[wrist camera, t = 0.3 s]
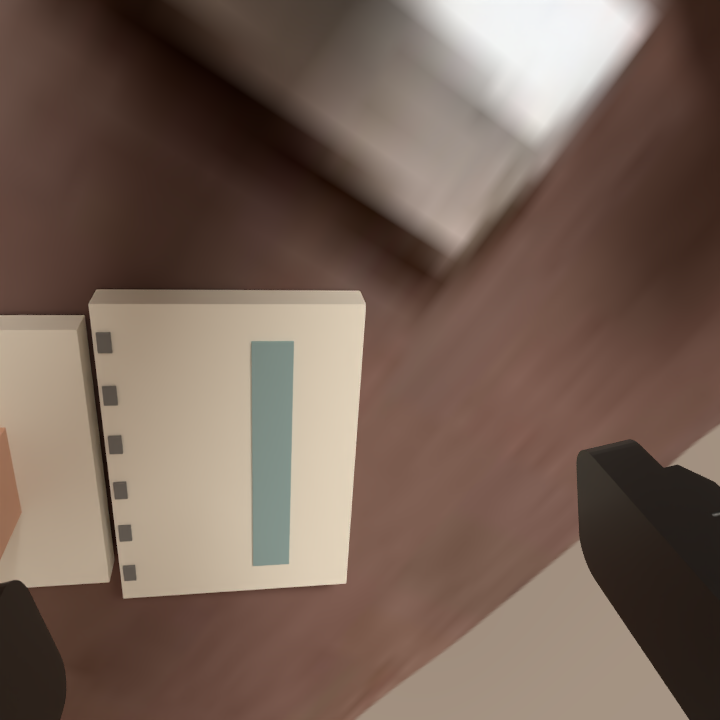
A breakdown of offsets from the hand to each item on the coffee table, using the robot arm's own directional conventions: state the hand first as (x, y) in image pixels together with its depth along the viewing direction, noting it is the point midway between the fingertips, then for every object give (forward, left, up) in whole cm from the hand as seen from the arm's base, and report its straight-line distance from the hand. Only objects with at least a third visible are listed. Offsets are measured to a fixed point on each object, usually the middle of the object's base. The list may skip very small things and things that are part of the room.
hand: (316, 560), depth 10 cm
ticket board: (+9, -1, -18) cm, 20 cm away
